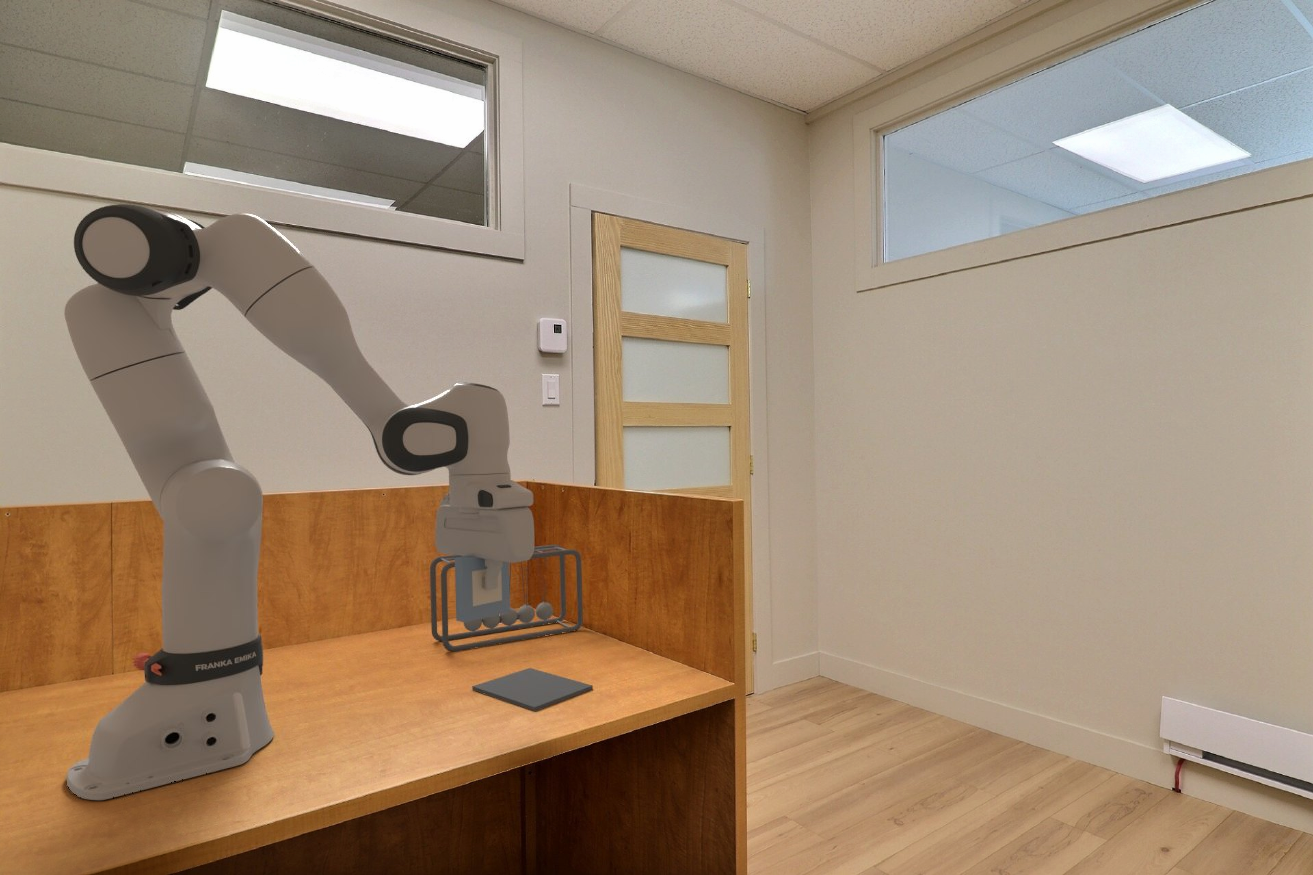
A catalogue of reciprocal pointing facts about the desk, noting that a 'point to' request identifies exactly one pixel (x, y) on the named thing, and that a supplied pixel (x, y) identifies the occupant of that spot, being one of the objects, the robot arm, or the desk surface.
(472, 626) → the newton's cradle
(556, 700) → the mat
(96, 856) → the desk surface
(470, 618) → the tile
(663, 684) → the desk surface
